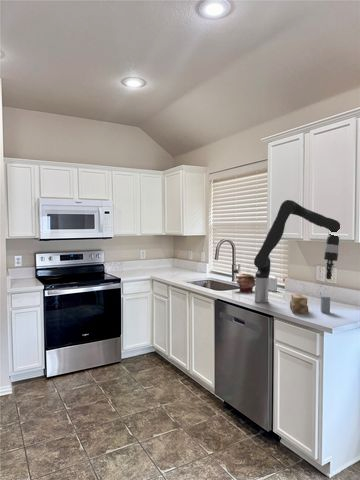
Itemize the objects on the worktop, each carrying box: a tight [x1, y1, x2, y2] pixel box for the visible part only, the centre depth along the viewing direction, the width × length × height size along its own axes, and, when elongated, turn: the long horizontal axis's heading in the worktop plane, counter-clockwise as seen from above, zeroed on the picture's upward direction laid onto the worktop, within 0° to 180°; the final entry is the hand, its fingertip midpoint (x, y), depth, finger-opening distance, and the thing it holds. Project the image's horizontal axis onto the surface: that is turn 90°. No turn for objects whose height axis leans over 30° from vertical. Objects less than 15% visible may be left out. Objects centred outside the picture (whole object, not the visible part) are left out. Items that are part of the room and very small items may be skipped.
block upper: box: [290, 293, 308, 306], centre depth 218 cm, size 8×12×5 cm, turn 168°
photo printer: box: [268, 275, 278, 292], centre depth 287 cm, size 10×4×12 cm, turn 30°
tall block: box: [320, 295, 331, 314], centre depth 216 cm, size 4×4×10 cm
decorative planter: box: [235, 273, 255, 293], centre depth 281 cm, size 20×12×14 cm, turn 115°
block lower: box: [289, 300, 309, 315], centre depth 218 cm, size 9×14×5 cm, turn 169°
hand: (328, 278), depth 210 cm, fingers open, 8 cm apart
